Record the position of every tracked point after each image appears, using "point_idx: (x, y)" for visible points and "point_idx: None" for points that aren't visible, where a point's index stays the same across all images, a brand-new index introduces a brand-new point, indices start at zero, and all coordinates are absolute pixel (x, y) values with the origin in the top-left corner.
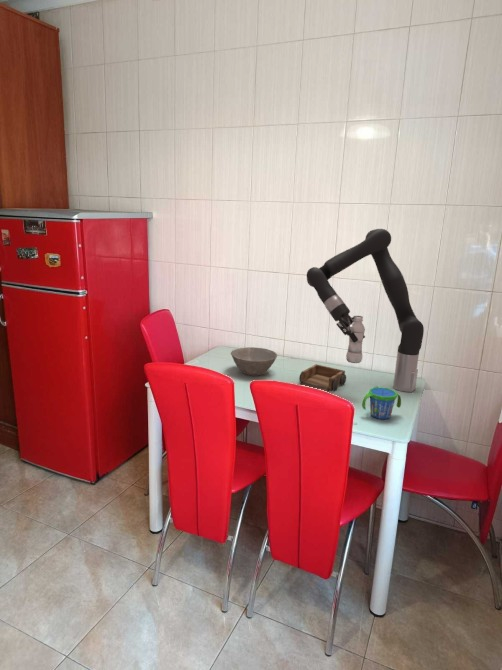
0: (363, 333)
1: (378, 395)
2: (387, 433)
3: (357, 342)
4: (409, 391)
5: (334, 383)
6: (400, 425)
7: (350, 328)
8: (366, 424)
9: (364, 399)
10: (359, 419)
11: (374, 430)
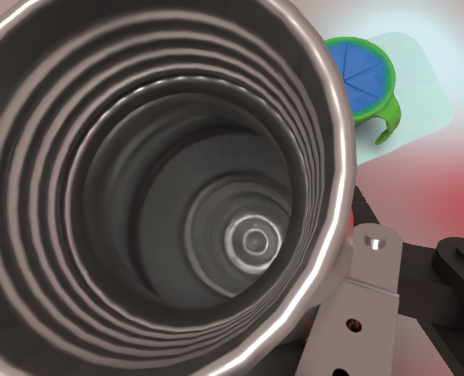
0: (234, 134)
1: (384, 74)
2: (413, 62)
3: (286, 195)
4: None
5: None
6: None
7: (371, 279)
8: (409, 119)
9: (396, 124)
10: (395, 146)
11: (426, 89)
